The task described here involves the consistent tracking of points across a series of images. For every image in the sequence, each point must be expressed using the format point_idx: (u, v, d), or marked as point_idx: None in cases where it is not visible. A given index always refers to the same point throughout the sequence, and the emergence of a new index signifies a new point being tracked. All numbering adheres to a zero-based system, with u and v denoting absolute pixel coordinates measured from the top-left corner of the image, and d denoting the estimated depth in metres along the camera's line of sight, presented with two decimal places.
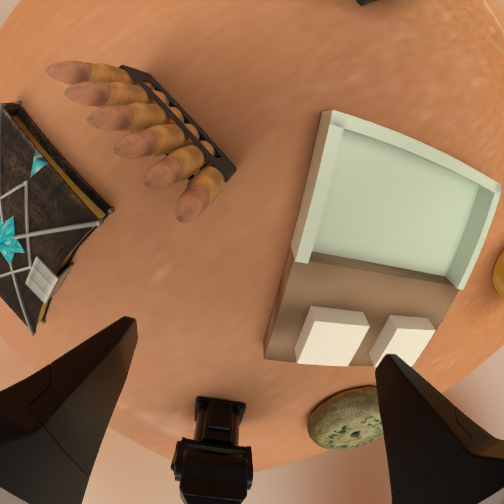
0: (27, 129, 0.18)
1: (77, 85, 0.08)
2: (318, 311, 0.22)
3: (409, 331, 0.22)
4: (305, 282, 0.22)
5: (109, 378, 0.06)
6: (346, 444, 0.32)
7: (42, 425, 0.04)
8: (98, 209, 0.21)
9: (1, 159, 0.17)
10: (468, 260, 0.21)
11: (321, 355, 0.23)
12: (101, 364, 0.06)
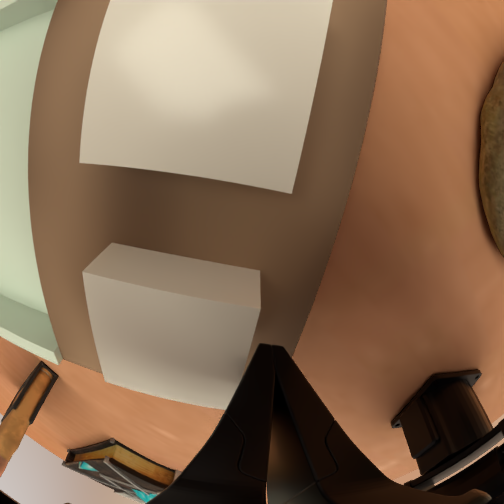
0: (80, 454, 0.24)
1: None
2: None
3: (94, 97, 0.05)
4: (86, 351, 0.11)
5: None
6: None
7: (259, 483, 0.04)
8: (113, 447, 0.20)
9: (95, 477, 0.23)
10: (11, 6, 0.04)
11: (202, 376, 0.08)
12: (273, 399, 0.06)
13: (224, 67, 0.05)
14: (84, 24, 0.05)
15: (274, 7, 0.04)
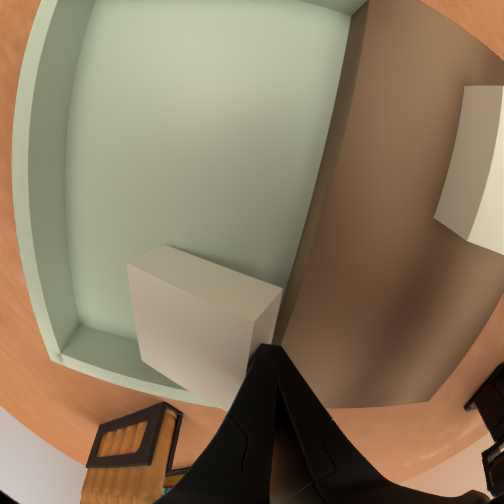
0: None
1: None
2: None
3: (488, 193, 0.06)
4: None
5: None
6: None
7: (263, 483, 0.04)
8: None
9: None
10: None
11: (212, 375, 0.09)
12: (276, 399, 0.06)
13: None
14: (414, 72, 0.06)
15: None
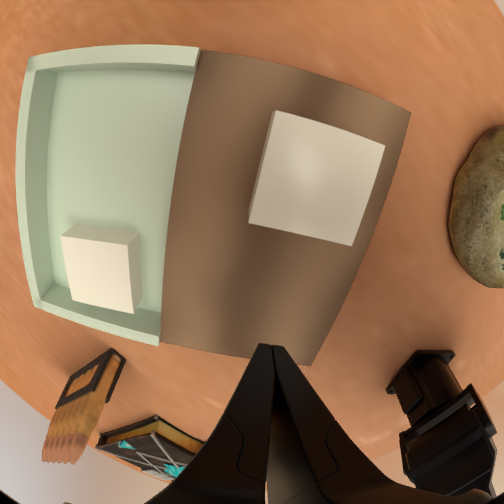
0: (114, 436, 0.31)
1: (46, 456, 0.14)
2: None
3: (262, 190, 0.12)
4: (187, 333, 0.18)
5: None
6: None
7: (258, 483, 0.04)
8: (155, 423, 0.27)
9: (128, 456, 0.30)
10: (137, 63, 0.10)
11: (114, 287, 0.16)
12: (272, 399, 0.06)
13: (331, 188, 0.12)
14: (224, 114, 0.12)
15: (357, 158, 0.11)
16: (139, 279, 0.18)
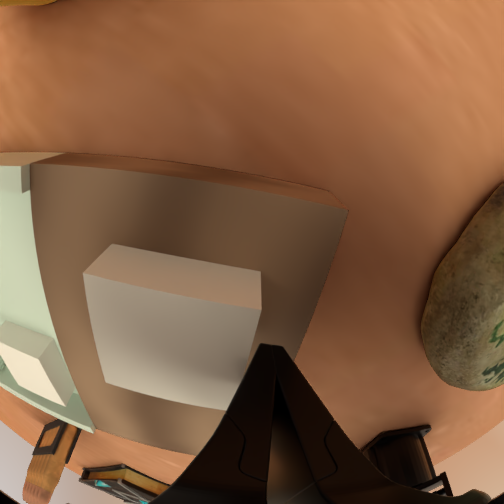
0: (94, 472, 0.28)
1: (25, 497, 0.11)
2: None
3: (104, 358, 0.08)
4: (115, 428, 0.14)
5: None
6: None
7: (260, 483, 0.04)
8: (123, 470, 0.24)
9: (108, 490, 0.26)
10: None
11: (43, 385, 0.13)
12: (274, 399, 0.06)
13: (184, 364, 0.08)
14: (67, 249, 0.09)
15: (212, 331, 0.07)
16: (66, 376, 0.14)
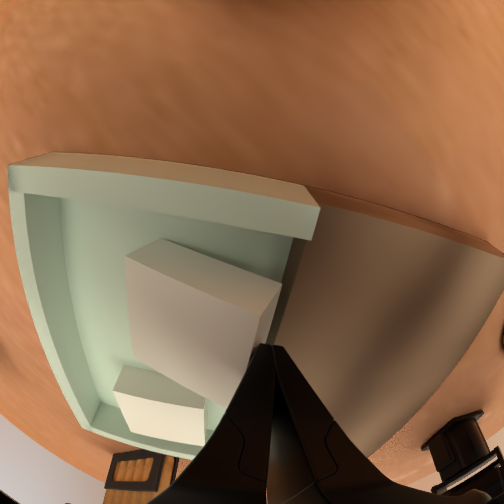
0: None
1: None
2: None
3: (134, 333, 0.10)
4: None
5: None
6: None
7: (259, 483, 0.04)
8: None
9: None
10: (208, 218, 0.08)
11: (184, 431, 0.14)
12: (273, 399, 0.06)
13: (195, 353, 0.09)
14: (340, 299, 0.09)
15: (218, 327, 0.08)
16: (207, 414, 0.15)
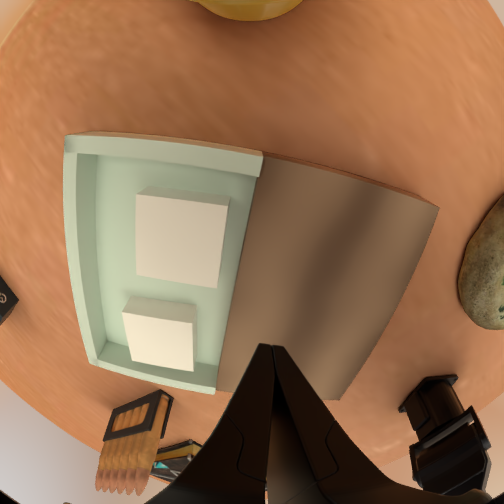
0: None
1: (102, 486, 0.17)
2: None
3: (139, 252, 0.15)
4: None
5: None
6: None
7: (258, 483, 0.04)
8: (189, 446, 0.30)
9: (161, 473, 0.33)
10: (198, 165, 0.13)
11: (176, 353, 0.19)
12: (272, 399, 0.06)
13: (188, 247, 0.15)
14: (285, 221, 0.15)
15: (203, 221, 0.14)
16: (196, 342, 0.20)
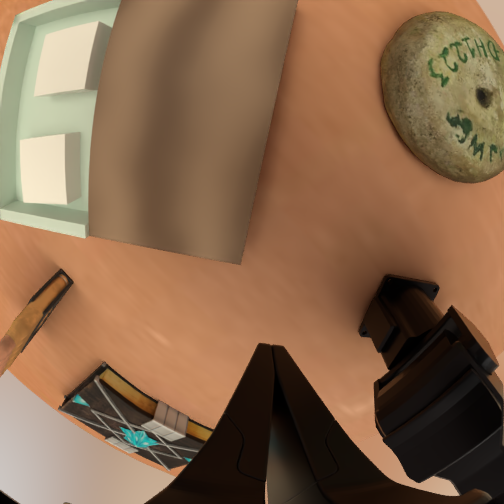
0: None
1: None
2: None
3: (38, 75, 0.12)
4: (110, 221, 0.17)
5: None
6: None
7: (258, 483, 0.04)
8: (104, 372, 0.27)
9: (87, 419, 0.29)
10: (84, 2, 0.10)
11: (53, 179, 0.16)
12: (272, 399, 0.06)
13: (69, 59, 0.12)
14: (139, 19, 0.11)
15: (81, 36, 0.11)
16: (77, 176, 0.17)
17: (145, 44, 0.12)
